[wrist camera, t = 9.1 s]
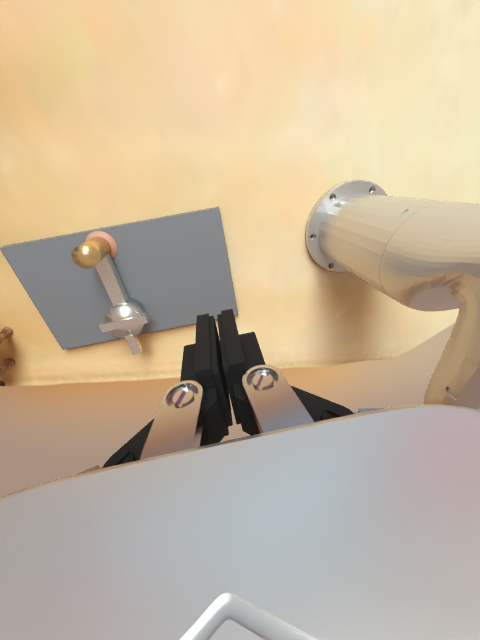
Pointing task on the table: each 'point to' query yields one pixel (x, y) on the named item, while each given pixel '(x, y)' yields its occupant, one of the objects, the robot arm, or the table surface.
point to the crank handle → (113, 292)
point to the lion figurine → (4, 334)
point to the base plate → (130, 275)
